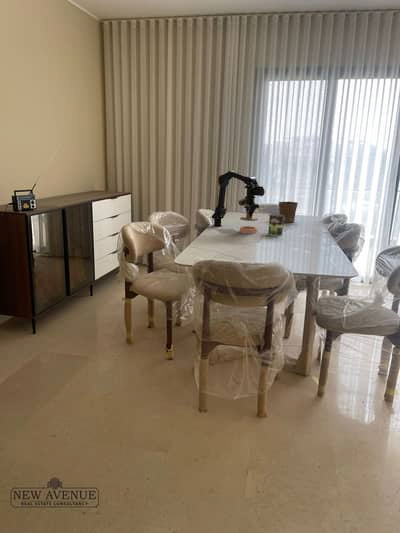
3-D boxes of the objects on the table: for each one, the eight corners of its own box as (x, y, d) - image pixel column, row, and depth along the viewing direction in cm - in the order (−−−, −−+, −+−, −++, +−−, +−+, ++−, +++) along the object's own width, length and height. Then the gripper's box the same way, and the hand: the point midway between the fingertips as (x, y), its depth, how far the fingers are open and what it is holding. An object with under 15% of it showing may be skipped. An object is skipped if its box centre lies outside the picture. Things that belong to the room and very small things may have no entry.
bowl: (237, 231, 289) (238, 226, 288) (252, 230, 293) (252, 225, 292) (244, 234, 278) (244, 229, 277) (259, 233, 282) (260, 228, 281)
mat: (215, 229, 291) (215, 229, 291) (232, 229, 296) (232, 228, 296) (222, 233, 279) (222, 233, 279) (239, 232, 283) (239, 232, 283)
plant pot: (275, 222, 325) (277, 203, 321) (277, 219, 340) (279, 201, 336) (295, 224, 321) (297, 204, 316) (296, 220, 336) (298, 202, 331)
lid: (237, 218, 286) (237, 210, 285) (253, 217, 290) (253, 209, 289) (244, 221, 274) (245, 213, 273) (261, 220, 278) (261, 212, 277)
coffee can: (280, 236, 274) (281, 216, 270) (266, 234, 278) (267, 215, 274) (284, 233, 282) (285, 214, 278) (270, 232, 287) (272, 213, 283)
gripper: (234, 193, 283) (233, 215, 288) (245, 196, 266) (244, 219, 271) (248, 193, 287) (247, 214, 291) (260, 196, 270) (258, 218, 274)
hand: (249, 216), depth 282 cm, fingers closed on lid, 3 cm apart
